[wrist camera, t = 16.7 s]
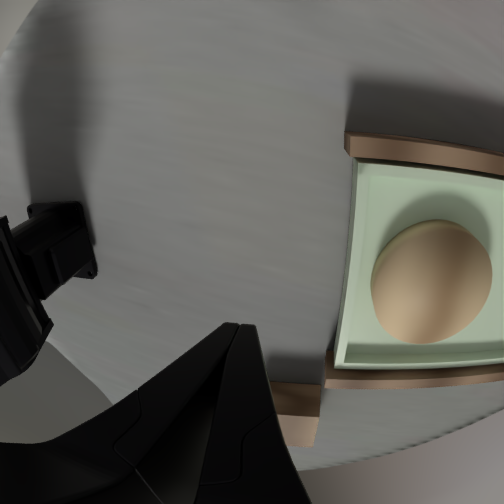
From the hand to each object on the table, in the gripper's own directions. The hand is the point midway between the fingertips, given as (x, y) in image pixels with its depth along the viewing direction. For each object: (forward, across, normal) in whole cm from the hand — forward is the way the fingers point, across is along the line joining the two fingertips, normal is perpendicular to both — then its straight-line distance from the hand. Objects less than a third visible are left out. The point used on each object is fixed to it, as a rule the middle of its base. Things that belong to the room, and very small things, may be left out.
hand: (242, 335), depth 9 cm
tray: (+12, -12, +4) cm, 17 cm away
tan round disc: (+11, -10, +4) cm, 15 cm away
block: (+12, -1, +18) cm, 22 cm away
